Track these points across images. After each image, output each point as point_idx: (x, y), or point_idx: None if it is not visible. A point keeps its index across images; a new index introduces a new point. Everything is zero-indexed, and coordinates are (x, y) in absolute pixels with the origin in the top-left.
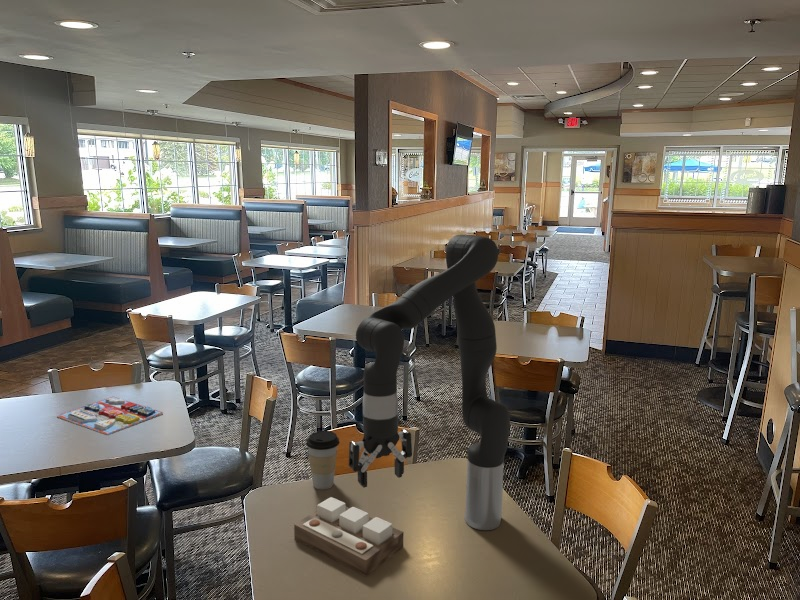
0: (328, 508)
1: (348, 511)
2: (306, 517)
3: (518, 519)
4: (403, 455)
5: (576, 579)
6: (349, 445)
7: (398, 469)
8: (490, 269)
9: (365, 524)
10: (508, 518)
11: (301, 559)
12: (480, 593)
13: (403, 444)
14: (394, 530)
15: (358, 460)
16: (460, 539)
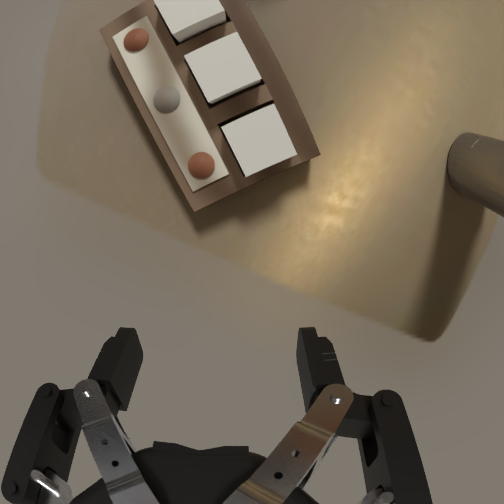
0: (170, 19)
1: (214, 48)
2: (132, 9)
3: None
4: (343, 431)
5: (445, 325)
6: (5, 476)
7: (302, 380)
8: None
9: (230, 124)
10: None
11: (104, 105)
12: (345, 309)
13: (376, 462)
14: (304, 138)
15: (71, 459)
16: (413, 186)
